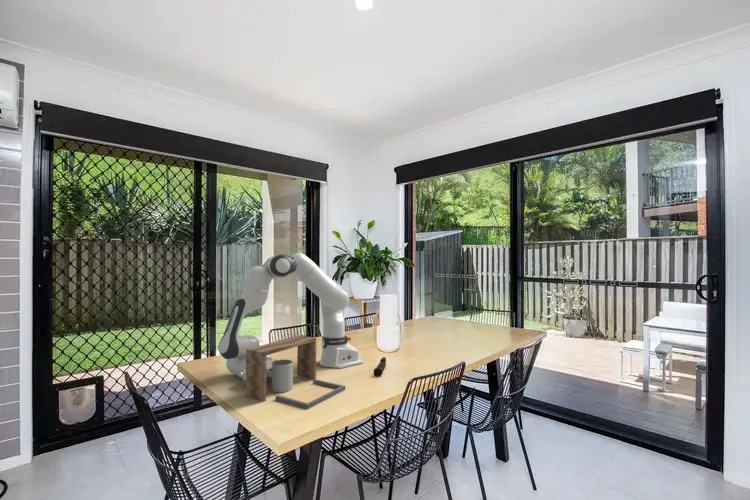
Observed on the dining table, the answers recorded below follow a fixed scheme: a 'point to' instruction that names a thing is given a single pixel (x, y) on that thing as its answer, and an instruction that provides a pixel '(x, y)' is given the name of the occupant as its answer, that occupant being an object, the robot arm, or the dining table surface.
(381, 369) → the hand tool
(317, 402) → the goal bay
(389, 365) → the dining table surface
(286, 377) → the mug
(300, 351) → the wooden bridge arch
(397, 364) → the dining table surface
